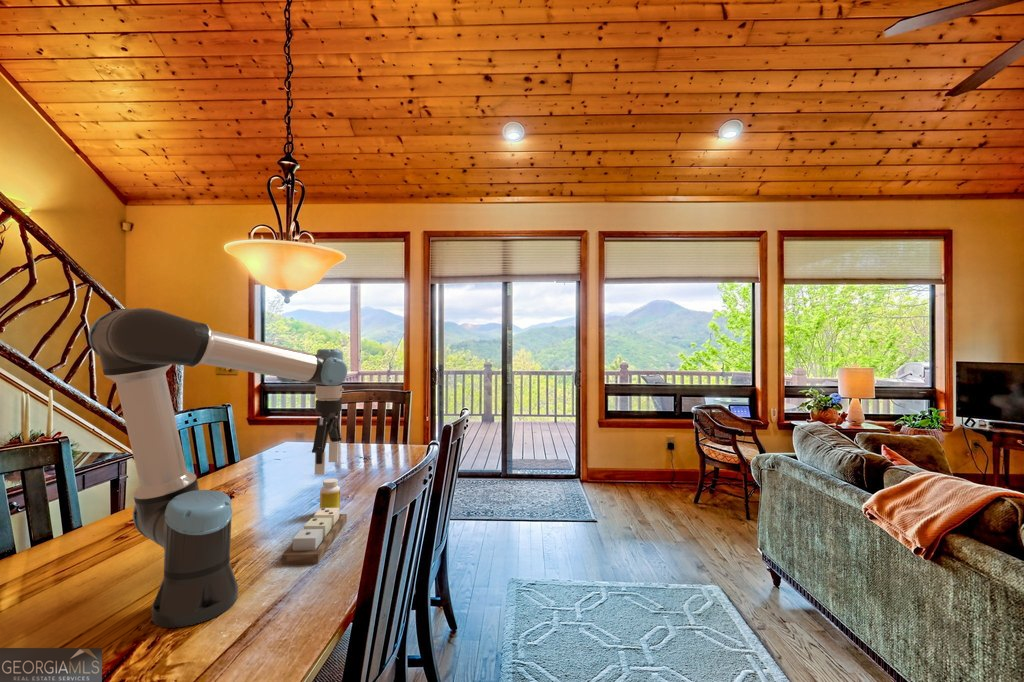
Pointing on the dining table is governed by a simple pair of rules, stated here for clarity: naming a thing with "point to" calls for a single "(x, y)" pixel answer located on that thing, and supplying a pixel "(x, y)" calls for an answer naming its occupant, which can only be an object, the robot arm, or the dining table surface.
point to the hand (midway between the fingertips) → (326, 468)
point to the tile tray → (317, 555)
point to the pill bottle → (330, 494)
